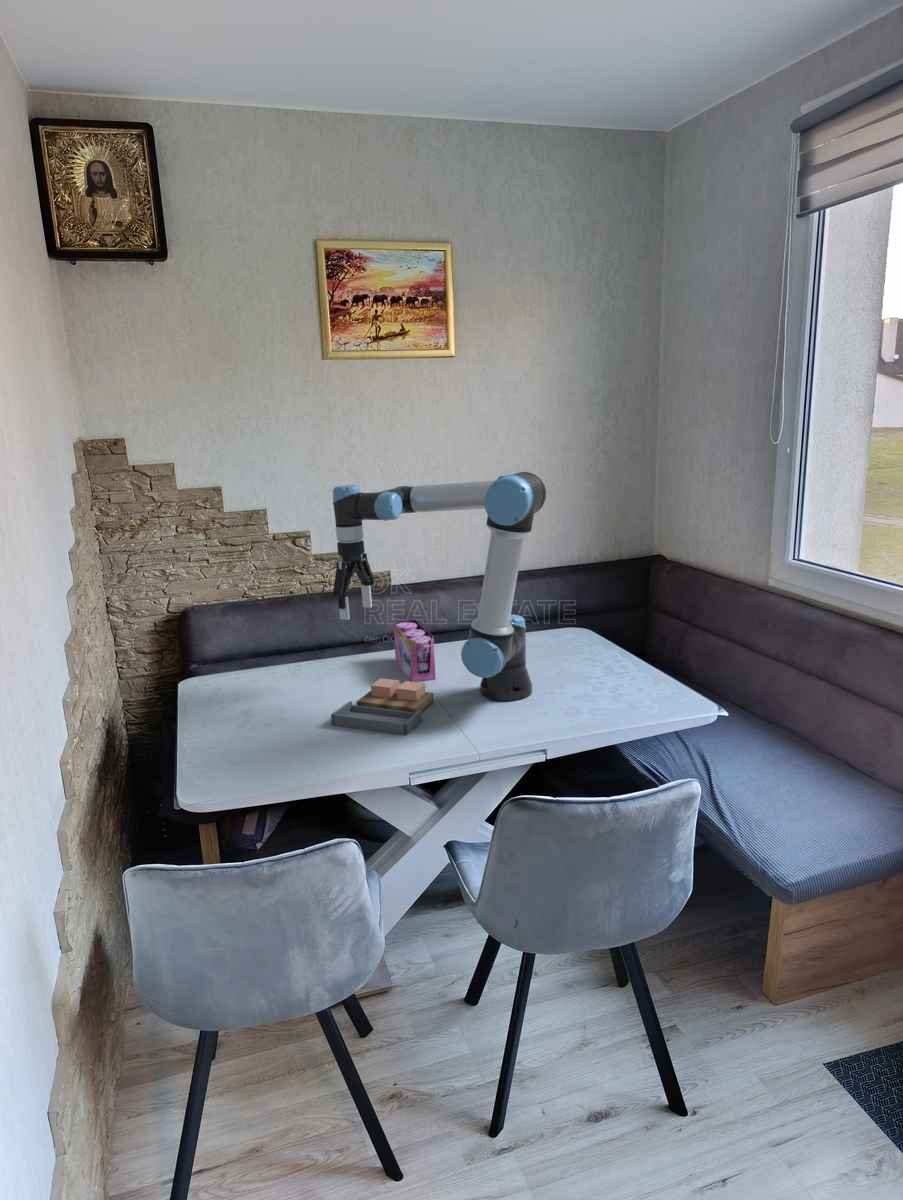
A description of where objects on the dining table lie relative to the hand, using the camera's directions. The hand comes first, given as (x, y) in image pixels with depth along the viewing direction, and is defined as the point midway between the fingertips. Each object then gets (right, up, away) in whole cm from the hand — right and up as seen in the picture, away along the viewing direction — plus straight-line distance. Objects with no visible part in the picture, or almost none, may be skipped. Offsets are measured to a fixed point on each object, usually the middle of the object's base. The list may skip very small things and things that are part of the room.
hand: (356, 613), depth 222 cm
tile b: (+9, -23, -4) cm, 25 cm away
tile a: (+16, -23, -7) cm, 29 cm away
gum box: (+16, -19, +24) cm, 34 cm away
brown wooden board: (+12, -26, -6) cm, 29 cm away
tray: (+8, -29, -17) cm, 34 cm away
